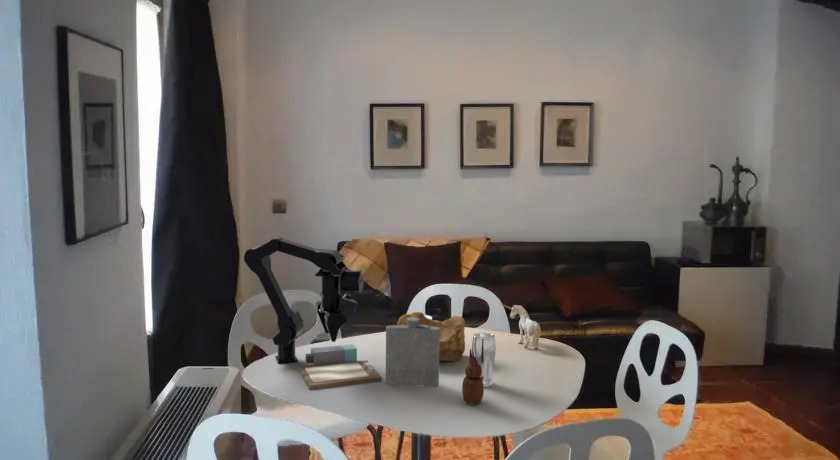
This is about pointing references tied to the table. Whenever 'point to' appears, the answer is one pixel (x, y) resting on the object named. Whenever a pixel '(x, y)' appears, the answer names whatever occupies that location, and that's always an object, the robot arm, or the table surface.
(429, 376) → the hip flask
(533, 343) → the unicorn figurine
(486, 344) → the beer glass
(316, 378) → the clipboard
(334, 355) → the marker
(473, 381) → the wooden figurine
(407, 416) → the table surface
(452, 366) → the table surface
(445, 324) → the rough brown rock
